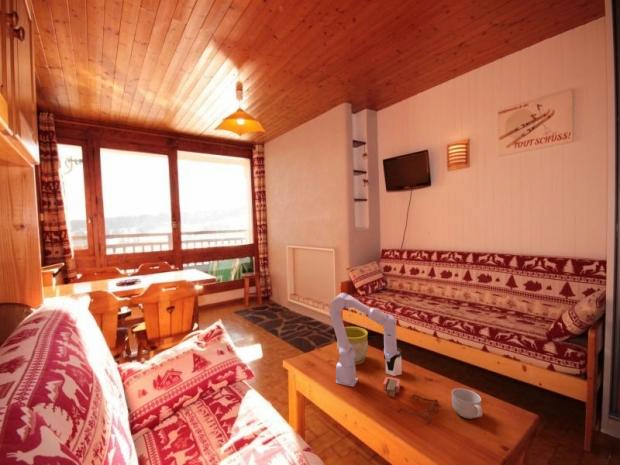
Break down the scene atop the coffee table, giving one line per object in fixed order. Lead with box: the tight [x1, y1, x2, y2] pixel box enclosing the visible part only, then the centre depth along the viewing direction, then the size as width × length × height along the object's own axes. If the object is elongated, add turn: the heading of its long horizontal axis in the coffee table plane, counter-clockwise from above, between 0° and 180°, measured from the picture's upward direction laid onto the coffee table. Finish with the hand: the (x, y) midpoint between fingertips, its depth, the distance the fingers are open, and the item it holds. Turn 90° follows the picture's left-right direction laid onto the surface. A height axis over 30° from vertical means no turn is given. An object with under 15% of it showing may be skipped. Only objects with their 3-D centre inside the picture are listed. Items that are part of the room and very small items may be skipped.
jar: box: [384, 347, 403, 377], centre depth 156 cm, size 9×8×12 cm
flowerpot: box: [336, 326, 369, 366], centre depth 171 cm, size 18×18×16 cm
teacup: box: [451, 387, 484, 420], centre depth 119 cm, size 14×11×8 cm
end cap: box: [382, 376, 401, 394], centre depth 141 cm, size 7×7×3 cm
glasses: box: [396, 394, 440, 424], centre depth 124 cm, size 13×13×5 cm
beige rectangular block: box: [386, 379, 397, 398], centre depth 138 cm, size 3×9×4 cm, turn 155°
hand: (390, 369), depth 140 cm, fingers closed
